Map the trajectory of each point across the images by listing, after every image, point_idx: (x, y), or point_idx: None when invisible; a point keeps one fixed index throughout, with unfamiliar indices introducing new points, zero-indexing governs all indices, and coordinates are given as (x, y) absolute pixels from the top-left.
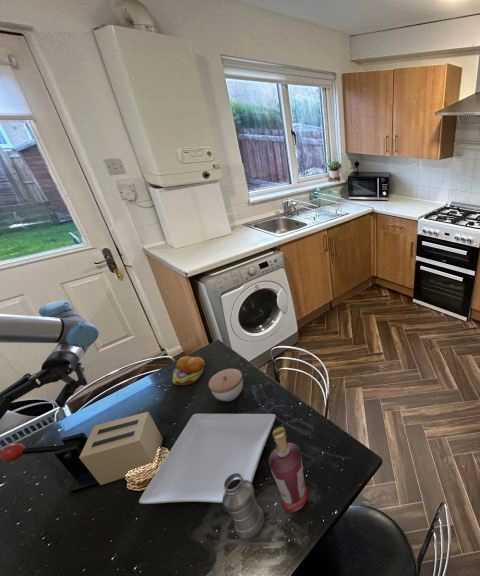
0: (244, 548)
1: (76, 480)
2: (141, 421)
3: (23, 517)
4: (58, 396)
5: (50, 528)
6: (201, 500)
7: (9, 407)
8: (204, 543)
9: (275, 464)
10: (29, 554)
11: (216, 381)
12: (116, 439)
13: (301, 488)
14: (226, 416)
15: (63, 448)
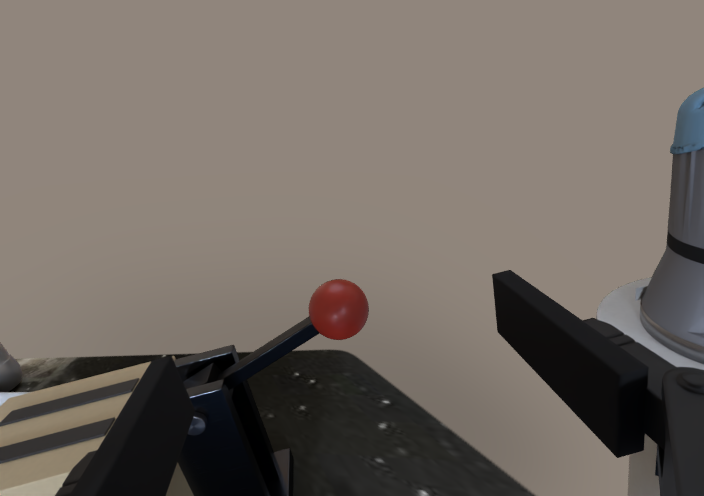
0: (31, 373)
1: (277, 462)
2: None
3: (384, 411)
4: (151, 384)
5: (308, 393)
6: (24, 392)
7: (584, 420)
8: (71, 377)
9: None
10: (322, 363)
11: None
12: (63, 398)
13: None
14: None
15: (221, 373)
